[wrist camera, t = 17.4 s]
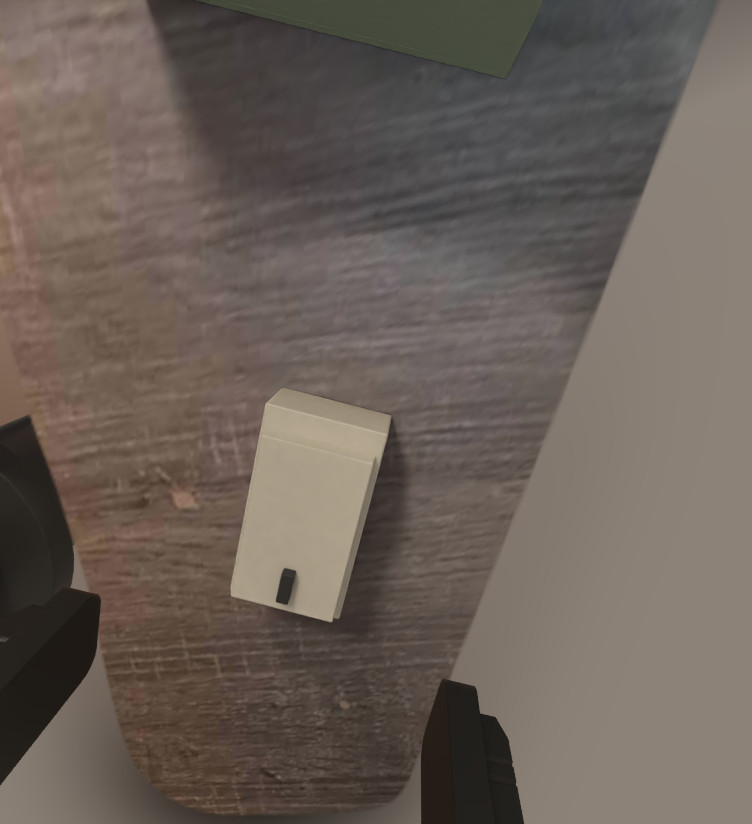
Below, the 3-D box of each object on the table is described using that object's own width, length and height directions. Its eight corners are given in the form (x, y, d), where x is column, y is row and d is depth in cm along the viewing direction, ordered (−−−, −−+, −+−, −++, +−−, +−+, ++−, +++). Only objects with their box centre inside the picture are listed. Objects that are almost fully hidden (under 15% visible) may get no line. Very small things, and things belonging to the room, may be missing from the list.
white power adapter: (347, 584, 30) (334, 640, 26) (247, 558, 30) (218, 610, 26) (391, 415, 27) (386, 446, 23) (282, 386, 27) (255, 412, 23)
